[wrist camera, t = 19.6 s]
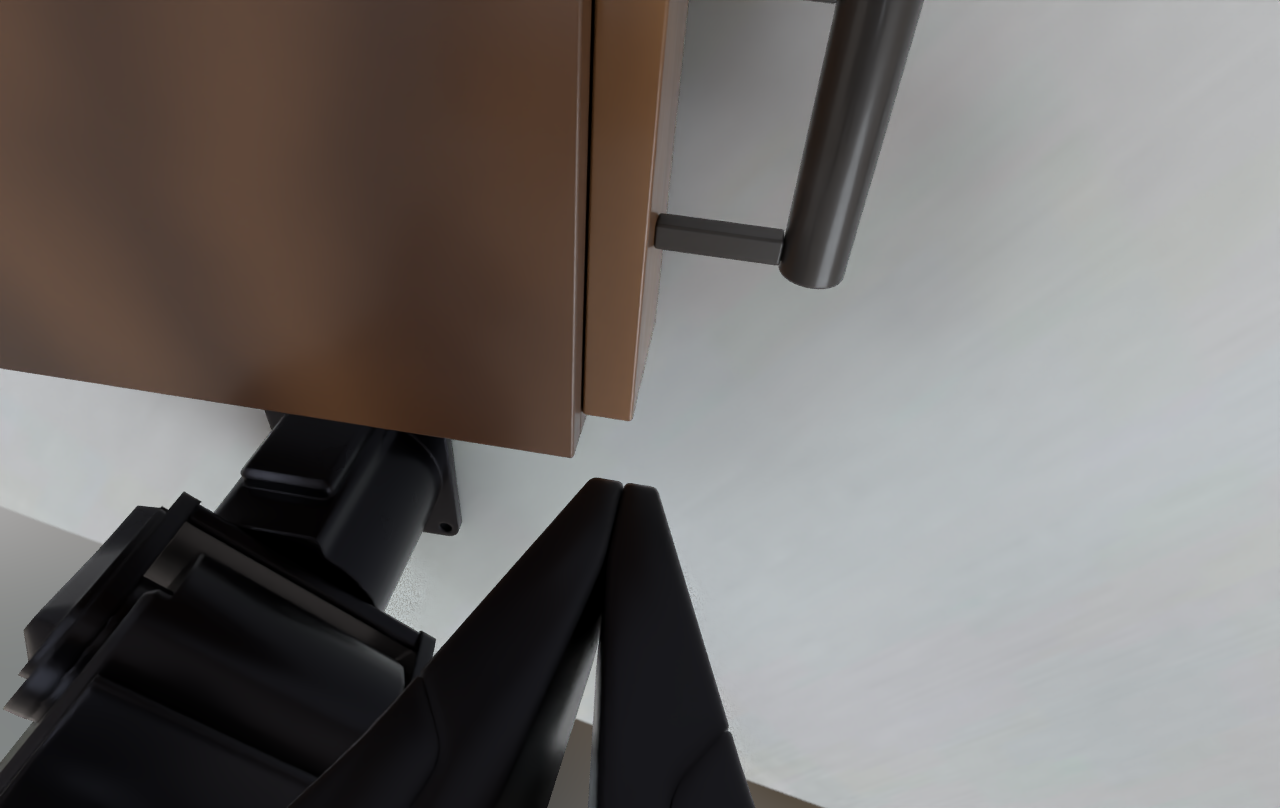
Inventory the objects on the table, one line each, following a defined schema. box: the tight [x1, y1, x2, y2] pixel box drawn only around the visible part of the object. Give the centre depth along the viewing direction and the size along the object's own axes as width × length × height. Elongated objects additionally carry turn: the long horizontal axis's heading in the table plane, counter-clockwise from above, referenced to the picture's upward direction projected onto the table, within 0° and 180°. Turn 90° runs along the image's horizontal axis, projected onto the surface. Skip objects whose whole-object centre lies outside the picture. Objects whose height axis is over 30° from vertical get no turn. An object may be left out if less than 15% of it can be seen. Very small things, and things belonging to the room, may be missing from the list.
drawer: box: [583, 0, 924, 421], centre depth 15 cm, size 19×13×4 cm
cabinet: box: [0, 0, 595, 458], centre depth 15 cm, size 16×15×6 cm
